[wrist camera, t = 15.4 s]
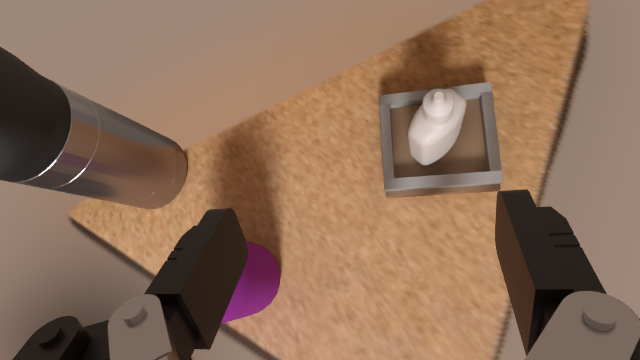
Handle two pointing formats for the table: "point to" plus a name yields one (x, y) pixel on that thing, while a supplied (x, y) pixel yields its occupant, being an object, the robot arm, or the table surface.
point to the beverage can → (254, 284)
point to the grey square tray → (458, 163)
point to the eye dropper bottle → (436, 125)
